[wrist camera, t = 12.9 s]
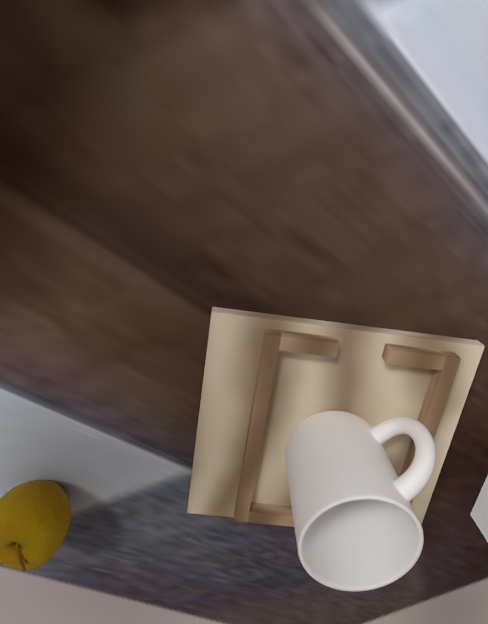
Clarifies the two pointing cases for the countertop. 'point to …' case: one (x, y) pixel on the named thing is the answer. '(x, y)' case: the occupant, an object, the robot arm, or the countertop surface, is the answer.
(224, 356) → the board
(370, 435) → the mug
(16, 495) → the apple
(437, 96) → the countertop surface
